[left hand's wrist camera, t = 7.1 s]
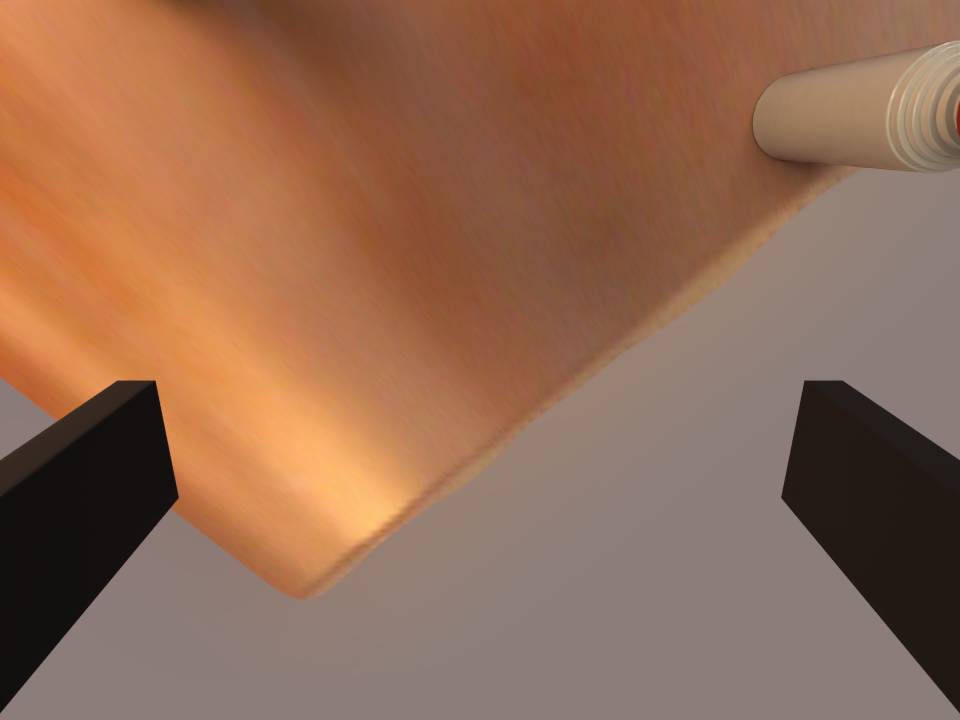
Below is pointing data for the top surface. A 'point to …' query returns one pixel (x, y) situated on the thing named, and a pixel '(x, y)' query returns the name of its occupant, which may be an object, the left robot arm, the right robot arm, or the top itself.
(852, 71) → the bottle
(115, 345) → the top surface
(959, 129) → the cap
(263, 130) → the top surface
